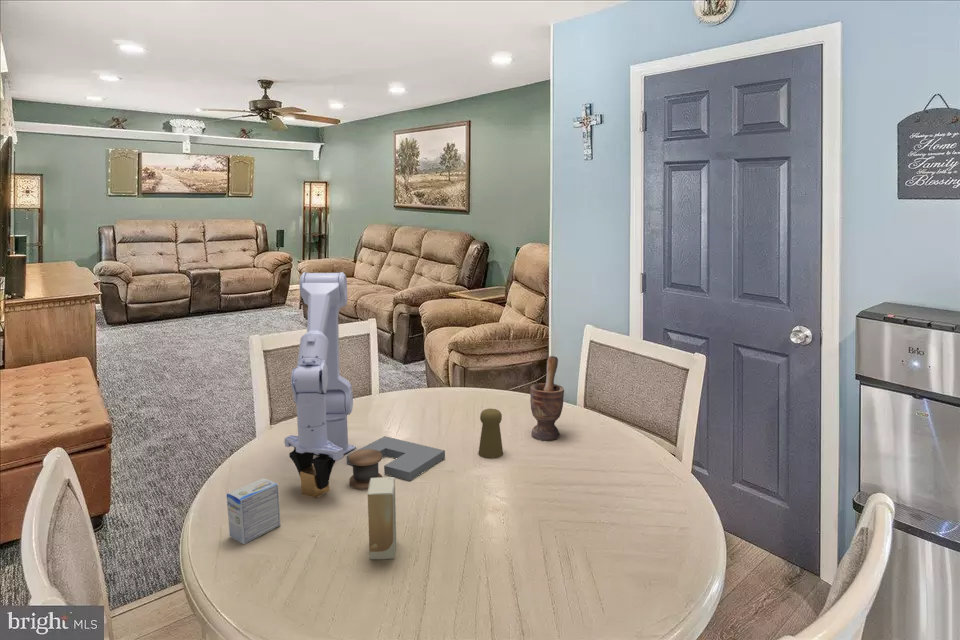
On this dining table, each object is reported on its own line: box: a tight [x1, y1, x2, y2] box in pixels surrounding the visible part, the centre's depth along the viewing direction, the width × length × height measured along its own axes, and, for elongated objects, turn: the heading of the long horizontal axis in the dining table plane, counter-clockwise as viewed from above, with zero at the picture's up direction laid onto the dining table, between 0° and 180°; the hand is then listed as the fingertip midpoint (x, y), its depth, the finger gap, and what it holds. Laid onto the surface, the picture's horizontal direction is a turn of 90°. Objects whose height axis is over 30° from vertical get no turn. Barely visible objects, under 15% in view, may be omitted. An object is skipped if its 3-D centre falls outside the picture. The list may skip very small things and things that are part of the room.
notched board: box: [346, 436, 446, 482], centre depth 141 cm, size 18×14×2 cm
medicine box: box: [226, 477, 281, 545], centre depth 109 cm, size 8×4×9 cm, turn 145°
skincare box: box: [367, 476, 397, 560], centre depth 103 cm, size 6×4×12 cm
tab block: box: [299, 464, 330, 499], centre depth 125 cm, size 4×4×5 cm
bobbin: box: [348, 449, 383, 490], centre depth 130 cm, size 7×7×6 cm
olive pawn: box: [477, 408, 504, 460], centre depth 144 cm, size 6×6×11 cm
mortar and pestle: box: [529, 355, 565, 441], centre depth 157 cm, size 12×9×20 cm
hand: (315, 484), depth 125 cm, fingers open, 4 cm apart
